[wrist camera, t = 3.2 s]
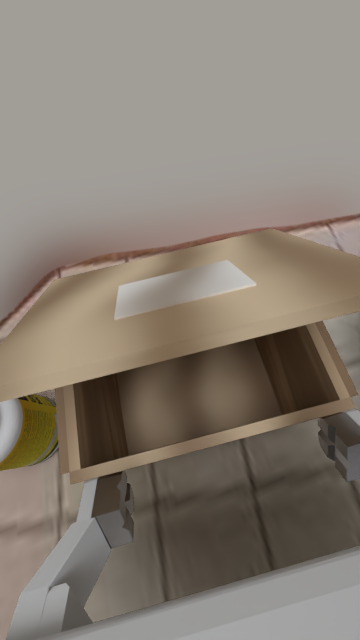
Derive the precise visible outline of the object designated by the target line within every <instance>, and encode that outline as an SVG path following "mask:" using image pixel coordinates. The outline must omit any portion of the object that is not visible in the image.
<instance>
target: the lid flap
mask: <svg viewBox="0 0 360 640" xmlns="http://www.w3.org/2000/svg"><path fill="white" fill-rule="evenodd" d="M358 311H360V257H358V256H355V255H352V254H349V253H346V252H343V251H340V250H337V249H334V248H331V247H327V246H324V245H321V244H318V243H315V242H312V241H309V240H306V239H303V238H300V237H297V236H293V235H290V234H287V233H284V232H281V231H278V230H275V229H272V228H271V229H267V230H263V231H259V232H254V233H250V234H246V235H242V236H237V237H233V238H229V239H225V240H221V241H216V242H212V243H208V244H204V245H199V246H195V247H191V248H187V249H182V250H178V251H174V252H170V253H166V254H161V255H157V256H153V257H149V258H144V259H140V260H136V261H132V262H128V263H123V264H119V265H115V266H111V267H106V268H102V269H98V270H94V271H89V272H85V273H81V274H77V275H73V276H68V277H64V278H60V279H56V280H54V281H53V282H52V283H51V285H50V286H49V287H48V288H47V289H46V291H45V292H44V293H43V294H42V295H41V297H40V298H39V299H38V300H37V301H36V303H35V304H34V305H33V306H32V307H31V309H30V310H29V311H28V312H27V313H26V315H25V316H24V317H23V318H22V319H21V321H20V322H19V323H18V324H17V325H16V327H15V328H14V329H13V330H12V331H11V333H10V334H9V335H8V336H7V337H6V339H5V340H4V341H3V342H2V343H1V345H0V402H3V401H7V400H11V399H15V398H19V397H23V396H27V395H31V394H35V393H39V392H43V391H47V390H51V389H55V388H59V387H63V386H66V385H70V384H74V383H78V382H82V381H86V380H90V379H94V378H98V377H102V376H106V375H110V374H114V373H118V372H122V371H126V370H130V369H134V368H137V367H141V366H145V365H149V364H153V363H157V362H161V361H165V360H169V359H173V358H177V357H181V356H185V355H189V354H193V353H197V352H201V351H205V350H209V349H212V348H216V347H220V346H224V345H228V344H232V343H236V342H240V341H244V340H248V339H252V338H256V337H260V336H264V335H268V334H272V333H276V332H280V331H283V330H287V329H291V328H295V327H299V326H303V325H307V324H311V323H315V322H319V321H323V320H327V319H331V318H335V317H339V316H343V315H347V314H351V313H355V312H358Z"/></svg>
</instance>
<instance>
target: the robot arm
mask: <svg viewBox="0 0 360 640" xmlns="http://www.w3.org/2000/svg"><path fill="white" fill-rule="evenodd" d="M318 426H319V427H320V428H321V430H320V432H319V433H318V439H319V443H320V445H321V448H322V450H323V451H324V453H325V454H326V456H327V457H328V458H330V459H332V460H334V461H335V467H336V469H337V470H338V471H339V473H340V474H341V475H342V476H343V478H344V479H345V480H346V482H348V481H352V480H357V479H360V411H358V410H357V409H355V408H353V409H350V410H346V411H343V412H338V413H335V414H331V415H328V416H324V417H321V418H319V419H318ZM133 512H134V496H133V491H132V488H131V485H130V484H128V483H127V475H126V473H125V471H121V472H116V473H112V474H108V475H104V476H100V477H96V478H92V479H88V480H86V482H85V484H84V487H83V492H82V496H81V501H80V506H79V510H78V515H77V520H76V523H72V524H71V526H70V527H69V528H68V530H67V531H66V533H65V534H64V535H63V537H62V538H61V539H60V541H59V542H58V543H57V545H56V546H55V548H54V549H53V550H52V552H51V553H50V554H49V556H48V557H47V559H46V560H45V561H44V563H43V564H42V565H41V567H40V568H39V569H38V571H37V572H36V574H35V575H34V576H33V578H32V579H31V580H30V582H29V583H28V584H27V586H26V587H25V589H24V590H23V591H22V593H21V594H20V597H19V600H18V603H17V606H16V609H15V612H14V616H13V619H12V622H11V625H10V628H9V631H8V634H7V637H6V640H360V545H359V546H356V547H352V548H349V549H345V550H342V551H338V552H335V553H332V554H328V555H325V556H321V557H318V558H314V559H311V560H307V561H304V562H301V563H297V564H294V565H290V566H287V567H283V568H280V569H276V570H273V571H270V572H266V573H263V574H259V575H256V576H253V577H249V578H246V579H242V580H239V581H235V582H232V583H229V584H225V585H222V586H218V587H215V588H211V589H208V590H205V591H201V592H198V593H194V594H191V595H187V596H184V597H180V598H177V599H174V600H170V601H167V602H163V603H160V604H156V605H153V606H150V607H146V608H143V609H139V610H136V611H132V612H129V613H125V614H122V615H119V616H115V617H112V618H108V619H105V620H101V621H98V622H95V623H93V622H92V621H91V619H90V617H89V616H88V614H87V613H86V611H85V610H84V606H85V604H86V601H87V599H88V597H89V595H90V593H91V591H92V589H93V587H94V585H95V583H96V581H97V579H98V577H99V575H100V572H101V570H102V568H103V566H104V564H105V562H106V560H107V558H108V556H109V554H110V552H111V548H115V547H118V546H121V545H124V544H127V543H131V542H133V537H134V522H133V519H132V517H131V515H132V514H133Z"/></svg>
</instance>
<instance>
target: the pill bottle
mask: <svg viewBox="0 0 360 640" xmlns="http://www.w3.org/2000/svg"><path fill="white" fill-rule="evenodd" d="M58 447H59V444H58V429H57V413H56V402H55V401H53V400H51V399H49V398H46V397H42V396H38V395H34V394H31V395H27V396H23V397H19V398H15V399H11V400H7V401H3V402H0V471H2V470H7V469H13V468H19V467H25V466H31V465H35V464H38V463H41V462H43V461H45V460H46V459H48V458H49V457H50V456H51V455H52V454H53V453H54V452H55V451H56V450H57V449H58Z"/></svg>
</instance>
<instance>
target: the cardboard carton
mask: <svg viewBox="0 0 360 640" xmlns="http://www.w3.org/2000/svg"><path fill="white" fill-rule="evenodd" d="M356 395H358V393H357V391H356V389H355V386H354V384H353V382H352V380H351V378H350V376H349V374H348V372H347V370H346V368H345V366H344V364H343V362H342V360H341V358H340V356H339V354H338V352H337V350H336V348H335V346H334V343H333V341H332V339H331V337H330V335H329V333H328V331H327V329H326V327H325V325H324V323H323V321H319V322H315V323H311V324H307V325H303V326H299V327H295V328H291V329H287V330H283V331H280V332H276V333H272V334H268V335H264V336H260V337H256V338H252V339H248V340H244V341H240V342H236V343H232V344H228V345H224V346H220V347H216V348H212V349H209V350H205V351H201V352H197V353H193V354H189V355H185V356H181V357H177V358H173V359H169V360H165V361H161V362H157V363H153V364H149V365H145V366H141V367H137V368H134V369H130V370H126V371H122V372H118V373H114V374H110V375H106V376H102V377H98V378H94V379H90V380H86V381H82V382H78V383H74V384H70V385H66V386H63V387H59V388H55V398H56V413H57V429H58V444H59V460H60V474H64V473H68V472H70V484H74V483H78V482H82V481H86V480H88V479H92V478H96V477H100V476H104V475H108V474H112V473H115V472H119V471H123V470H126V469H130V468H134V467H138V466H141V465H145V464H149V463H152V462H156V461H160V460H164V459H167V458H171V457H175V456H179V455H182V454H186V453H190V452H193V451H197V450H201V449H205V448H208V447H212V446H216V445H219V444H223V443H227V442H231V441H234V440H238V439H242V438H245V437H249V436H253V435H257V434H260V433H264V432H268V431H271V430H275V429H279V428H283V427H286V426H290V425H294V424H298V423H301V422H305V421H309V420H312V419H316V418H320V417H324V416H327V415H331V414H335V413H338V412H342V411H346V410H350V409H353V408H355V406H354V404H353V402H352V400H351V398H350V397H353V396H356Z"/></svg>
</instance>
